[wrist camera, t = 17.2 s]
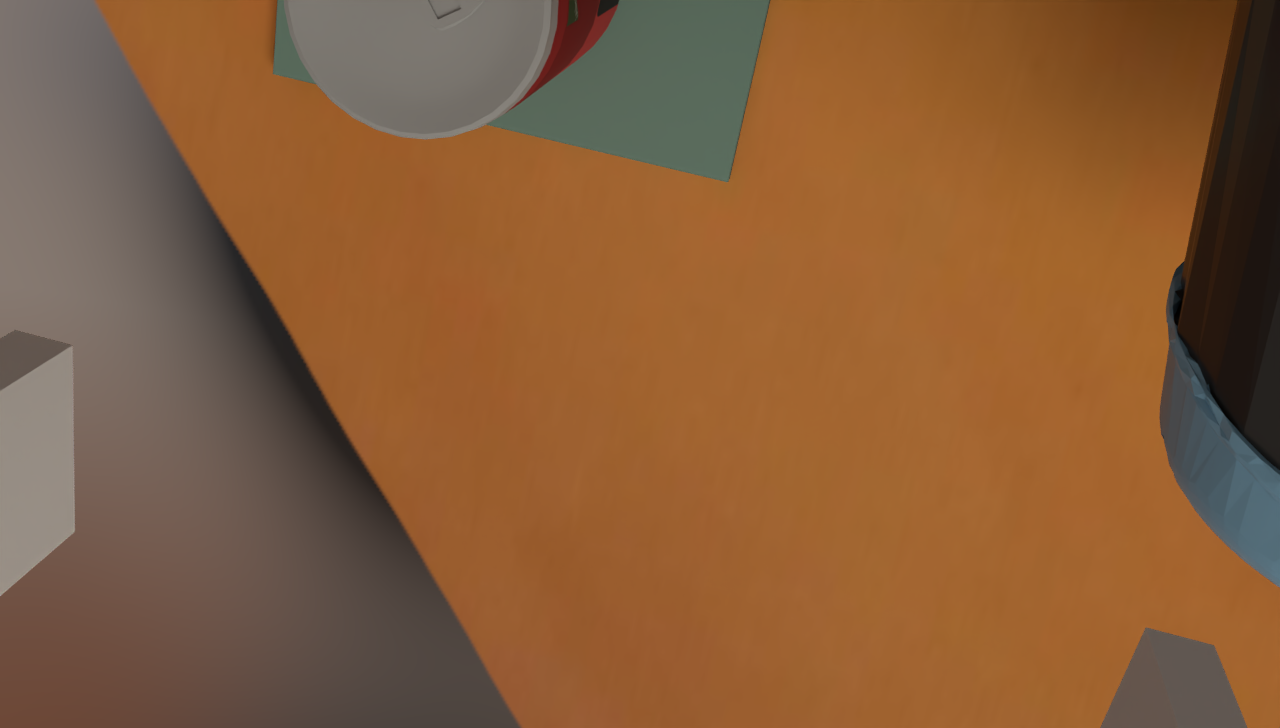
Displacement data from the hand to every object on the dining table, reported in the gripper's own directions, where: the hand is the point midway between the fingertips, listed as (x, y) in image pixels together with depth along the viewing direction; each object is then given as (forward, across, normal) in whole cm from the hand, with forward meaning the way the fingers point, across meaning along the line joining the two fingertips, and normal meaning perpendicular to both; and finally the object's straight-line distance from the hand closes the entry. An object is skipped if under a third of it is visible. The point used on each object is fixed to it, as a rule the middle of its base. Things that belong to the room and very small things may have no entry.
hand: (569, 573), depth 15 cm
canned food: (+32, -10, +2) cm, 34 cm away
